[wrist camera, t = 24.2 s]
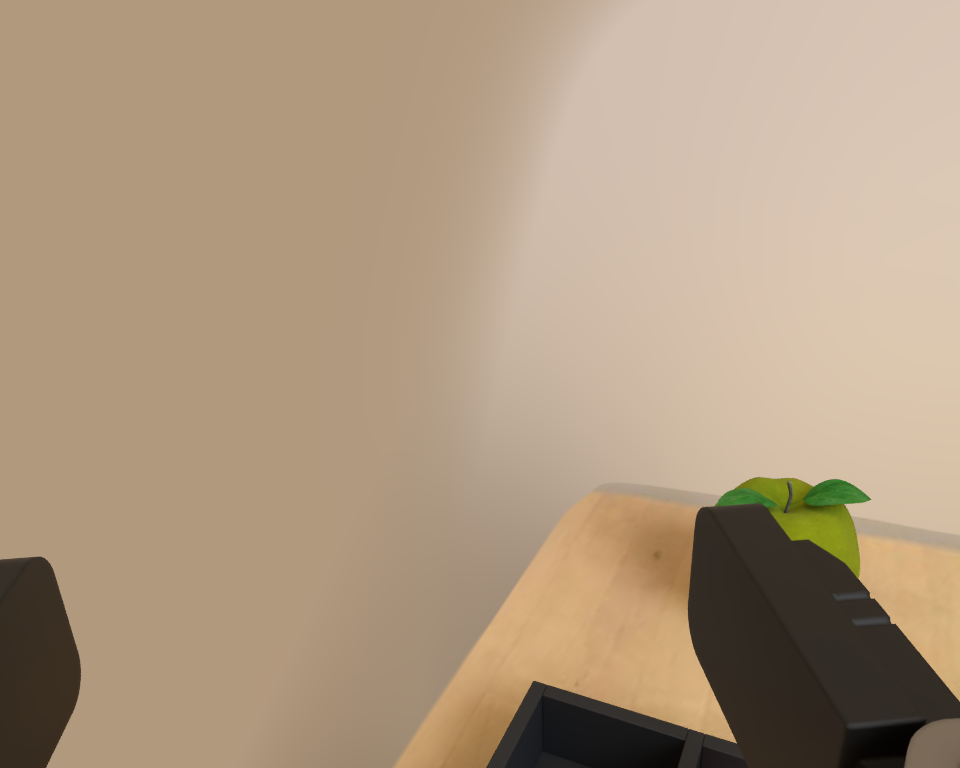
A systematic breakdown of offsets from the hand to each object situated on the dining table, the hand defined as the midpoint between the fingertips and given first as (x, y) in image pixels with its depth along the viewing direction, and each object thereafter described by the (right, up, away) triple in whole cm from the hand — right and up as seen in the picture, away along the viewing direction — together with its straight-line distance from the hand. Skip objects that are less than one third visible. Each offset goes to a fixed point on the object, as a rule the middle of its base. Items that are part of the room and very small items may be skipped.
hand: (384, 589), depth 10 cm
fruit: (+21, -13, +44) cm, 50 cm away
